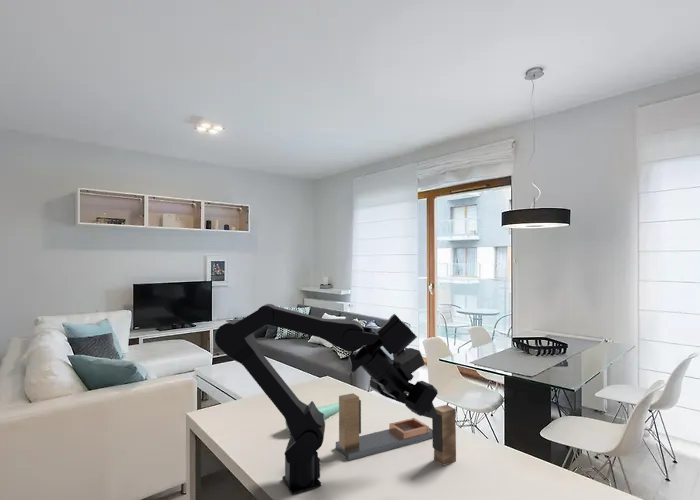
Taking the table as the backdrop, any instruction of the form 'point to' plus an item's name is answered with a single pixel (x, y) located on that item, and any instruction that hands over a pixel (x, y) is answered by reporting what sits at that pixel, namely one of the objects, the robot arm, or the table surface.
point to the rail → (374, 442)
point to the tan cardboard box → (444, 435)
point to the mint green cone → (326, 411)
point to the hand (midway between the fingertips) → (422, 410)
